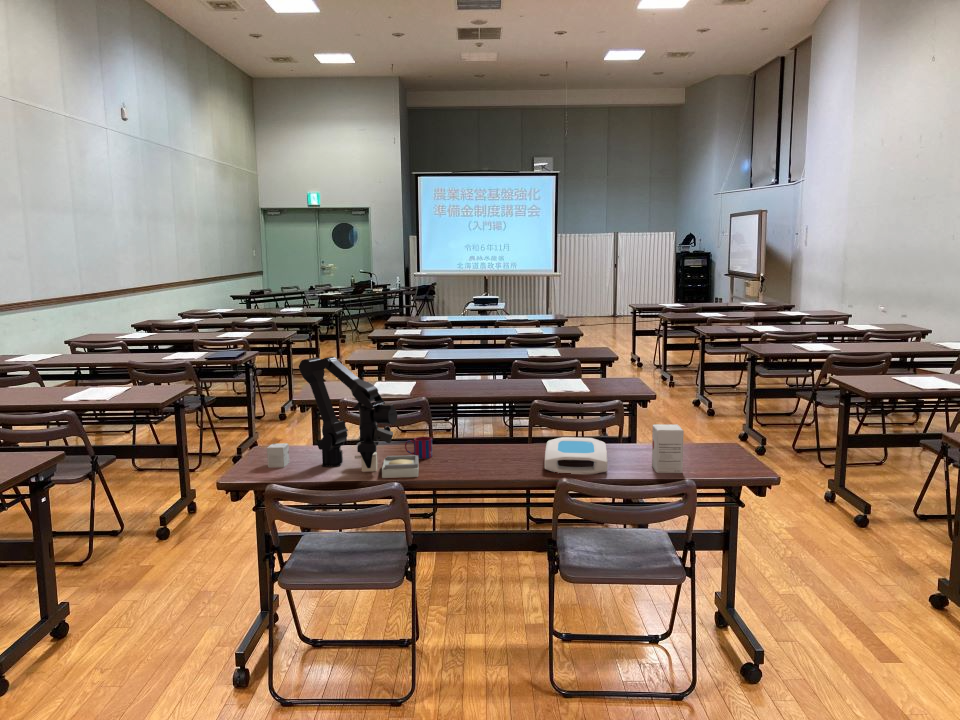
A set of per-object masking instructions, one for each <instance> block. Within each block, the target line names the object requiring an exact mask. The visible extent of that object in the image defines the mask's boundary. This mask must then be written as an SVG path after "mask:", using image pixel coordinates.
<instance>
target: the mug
mask: <svg viewBox="0 0 960 720" xmlns="http://www.w3.org/2000/svg"><path fill="white" fill-rule="evenodd" d="M408 443H412V444H413V451H409V450H408V449H407V445H408ZM404 449H405V451H406V452H407V453H408V454H409V455H416V456H418V460H419V459H420V460H425V459H426V460H427V459H430V458H432V457H433V438H432V437H430V436H417V437H415V438H413V440H411V439H409V440H407V441H405V443H404Z"/></svg>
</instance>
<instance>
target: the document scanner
mask: <svg viewBox="0 0 960 720" xmlns="http://www.w3.org/2000/svg"><path fill="white" fill-rule="evenodd" d="M545 445H546V446H545V452H544V469H545V470H547V471H549V472H552V473H555V472H558V473H557V474H559V473H571V474H570V475H588V476H589V475H596V474H600V473H605V472H608V452H607V445H606V442H604V441H602V440H599V439H596V438H593V437H573V436H572V437H570V436H569V437H568V436H567V437H566V436H564V437H563V436H561V437H557V438H554V439H549V440H548V441H547V442H546V444H545ZM564 460H565V461H591V462H593V466H582V467H581V466H564V465H560V464H559V461H564Z"/></svg>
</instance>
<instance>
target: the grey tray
mask: <svg viewBox="0 0 960 720" xmlns="http://www.w3.org/2000/svg"><path fill="white" fill-rule="evenodd" d="M419 461H420V460H419V459H418V456H416V455H414V454H408V455H386V457H384V460H383V462H382V468H381V478H382V479H390V478H392V479H395V478H418V477H419V469H420V468H419V465H420V464H419Z"/></svg>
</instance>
